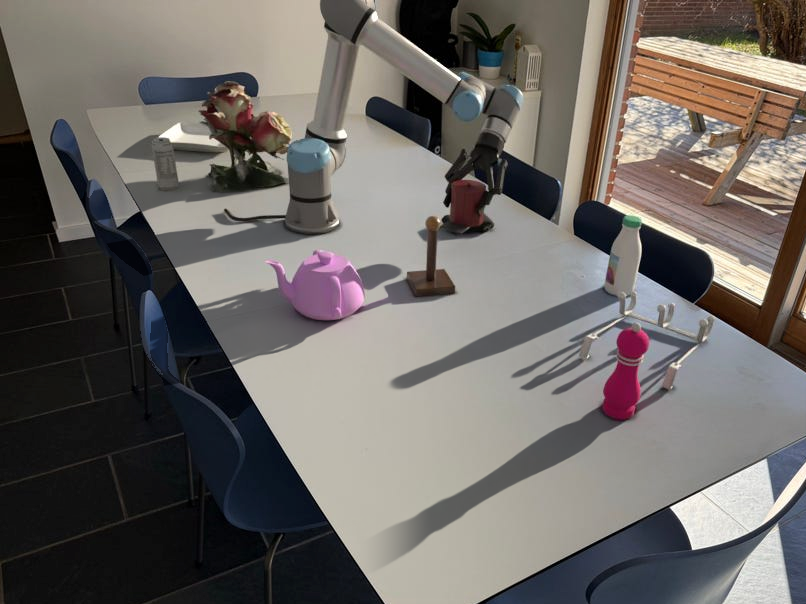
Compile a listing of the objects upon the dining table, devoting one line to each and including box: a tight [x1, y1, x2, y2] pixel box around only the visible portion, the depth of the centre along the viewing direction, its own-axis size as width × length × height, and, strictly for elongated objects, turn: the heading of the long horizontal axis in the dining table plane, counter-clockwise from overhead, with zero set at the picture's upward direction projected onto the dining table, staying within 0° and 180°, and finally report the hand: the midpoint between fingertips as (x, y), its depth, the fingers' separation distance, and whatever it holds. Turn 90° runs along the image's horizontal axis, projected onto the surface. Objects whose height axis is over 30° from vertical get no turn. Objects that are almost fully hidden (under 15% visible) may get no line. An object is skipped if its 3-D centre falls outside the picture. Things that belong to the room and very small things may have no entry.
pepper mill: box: [602, 322, 650, 420], centre depth 138 cm, size 7×7×20 cm
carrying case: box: [440, 213, 495, 234], centre depth 216 cm, size 11×3×15 cm
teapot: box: [265, 249, 366, 321], centre depth 165 cm, size 22×22×14 cm
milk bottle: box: [603, 214, 643, 297], centre depth 183 cm, size 8×8×20 cm
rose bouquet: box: [197, 80, 293, 193], centre depth 232 cm, size 26×29×30 cm
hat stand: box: [406, 215, 456, 297], centre depth 178 cm, size 10×10×19 cm
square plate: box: [156, 121, 230, 154], centre depth 265 cm, size 27×27×4 cm
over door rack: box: [578, 290, 716, 391], centre depth 162 cm, size 22×29×10 cm
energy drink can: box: [150, 136, 180, 191], centre depth 223 cm, size 6×6×15 cm
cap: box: [439, 179, 487, 235], centre depth 196 cm, size 14×10×11 cm, turn 153°
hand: (462, 209), depth 196 cm, fingers closed on cap, 9 cm apart
